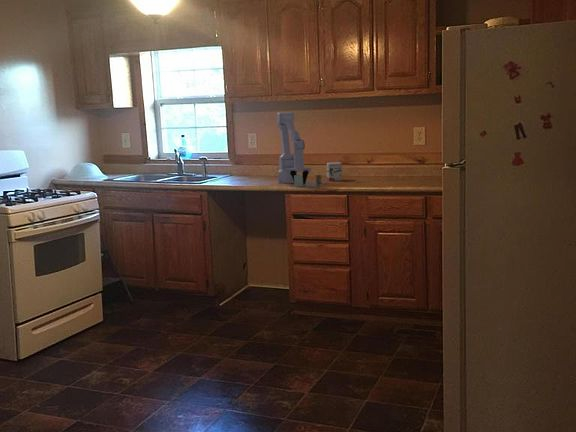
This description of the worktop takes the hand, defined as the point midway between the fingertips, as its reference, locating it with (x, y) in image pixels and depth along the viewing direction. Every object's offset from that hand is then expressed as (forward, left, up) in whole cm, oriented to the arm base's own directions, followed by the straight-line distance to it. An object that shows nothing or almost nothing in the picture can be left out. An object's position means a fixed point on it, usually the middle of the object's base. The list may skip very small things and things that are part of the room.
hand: (299, 183), depth 389 cm
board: (+3, +7, -2) cm, 8 cm away
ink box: (+14, +25, -2) cm, 29 cm away
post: (+8, +12, -1) cm, 14 cm away
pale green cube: (0, 0, -1) cm, 1 cm away
